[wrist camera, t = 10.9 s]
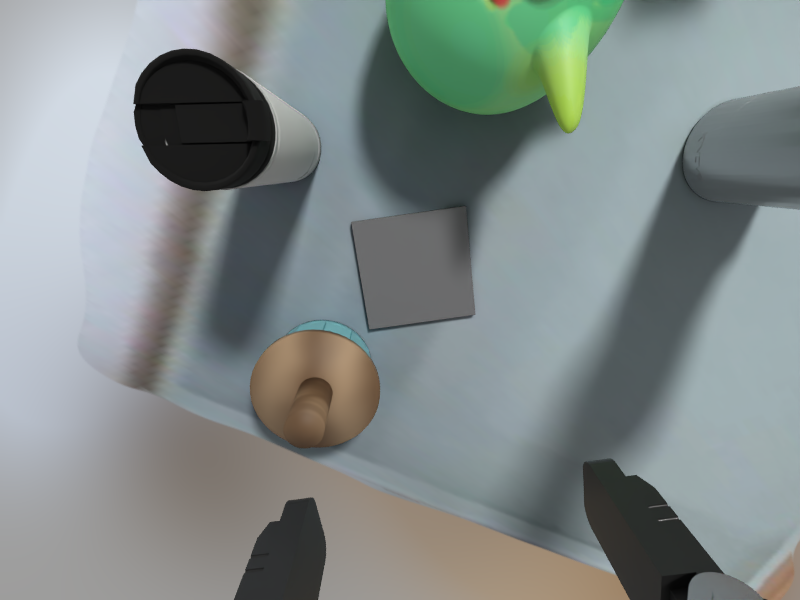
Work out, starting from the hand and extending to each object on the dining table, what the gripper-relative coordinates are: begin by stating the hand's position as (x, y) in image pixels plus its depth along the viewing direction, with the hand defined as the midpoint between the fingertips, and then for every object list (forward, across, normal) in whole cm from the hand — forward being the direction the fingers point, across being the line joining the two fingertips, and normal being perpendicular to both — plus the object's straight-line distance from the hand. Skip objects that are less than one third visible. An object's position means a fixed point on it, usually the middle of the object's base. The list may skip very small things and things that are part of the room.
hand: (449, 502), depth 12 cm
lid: (+25, +11, +9) cm, 29 cm away
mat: (+31, 0, 0) cm, 31 cm away
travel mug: (+31, +10, -13) cm, 35 cm away
